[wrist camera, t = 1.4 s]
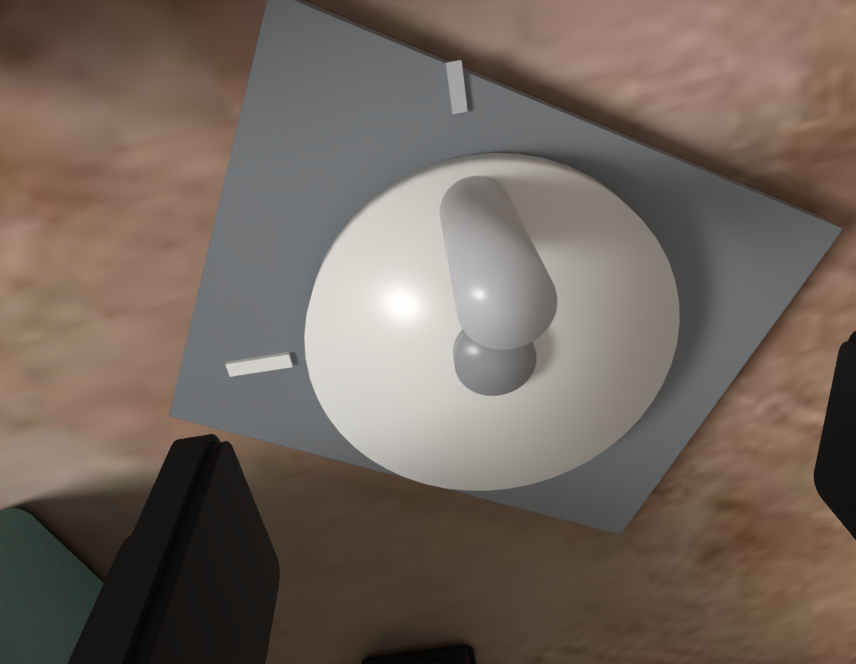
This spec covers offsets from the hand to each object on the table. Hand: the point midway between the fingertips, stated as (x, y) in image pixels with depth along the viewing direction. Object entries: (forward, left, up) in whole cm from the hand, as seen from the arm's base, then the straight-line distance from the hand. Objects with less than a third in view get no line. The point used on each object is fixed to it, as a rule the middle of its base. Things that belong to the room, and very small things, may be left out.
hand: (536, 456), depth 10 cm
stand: (-3, +5, -16) cm, 17 cm away
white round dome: (-3, +5, -14) cm, 15 cm away
